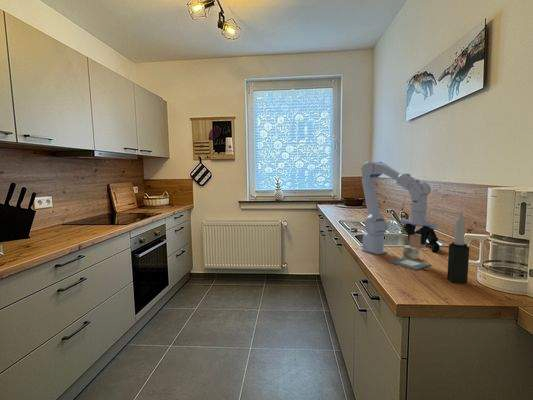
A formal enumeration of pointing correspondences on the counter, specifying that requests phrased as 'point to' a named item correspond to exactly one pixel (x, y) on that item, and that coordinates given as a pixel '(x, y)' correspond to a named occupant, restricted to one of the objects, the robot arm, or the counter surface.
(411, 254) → the block cream
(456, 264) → the black and grey bottle
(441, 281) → the counter surface
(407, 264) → the board
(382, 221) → the robot arm
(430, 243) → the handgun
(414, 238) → the block brown
